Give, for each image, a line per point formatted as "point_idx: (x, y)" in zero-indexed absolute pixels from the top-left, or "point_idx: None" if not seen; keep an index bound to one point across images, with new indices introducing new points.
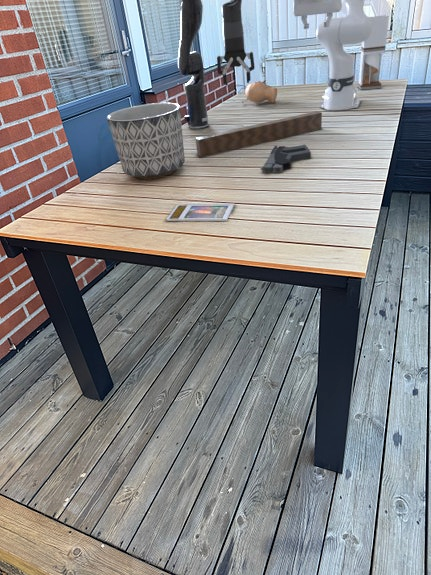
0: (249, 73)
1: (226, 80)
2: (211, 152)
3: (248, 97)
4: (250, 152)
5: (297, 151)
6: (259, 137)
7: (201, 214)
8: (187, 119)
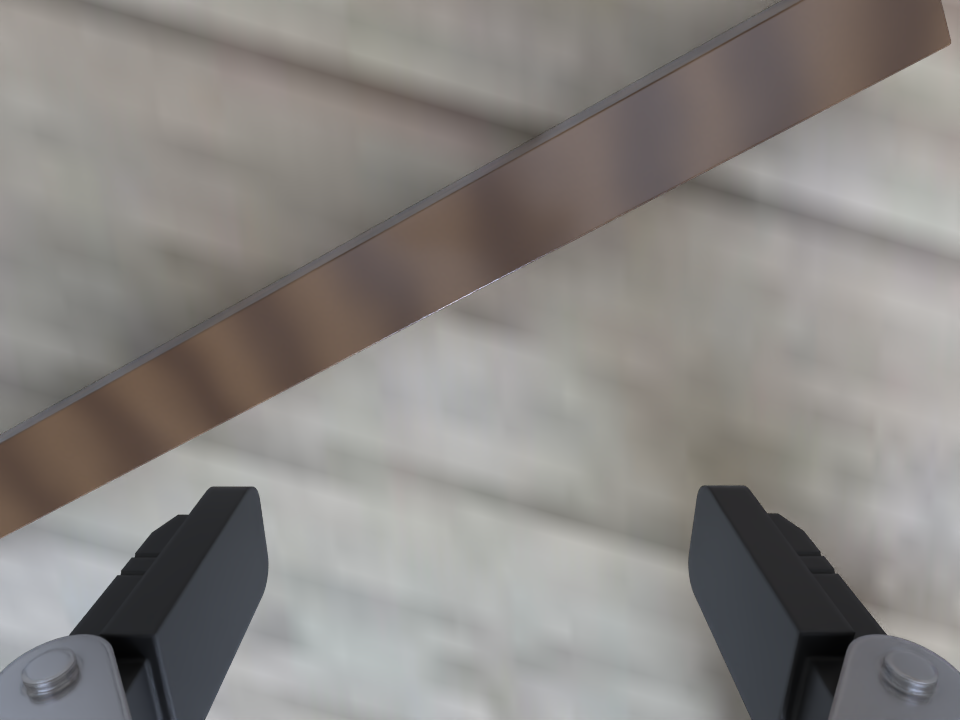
0: (86, 632)
1: (746, 536)
2: (736, 26)
3: None
4: (392, 8)
5: None
6: (324, 257)
7: None
8: None
